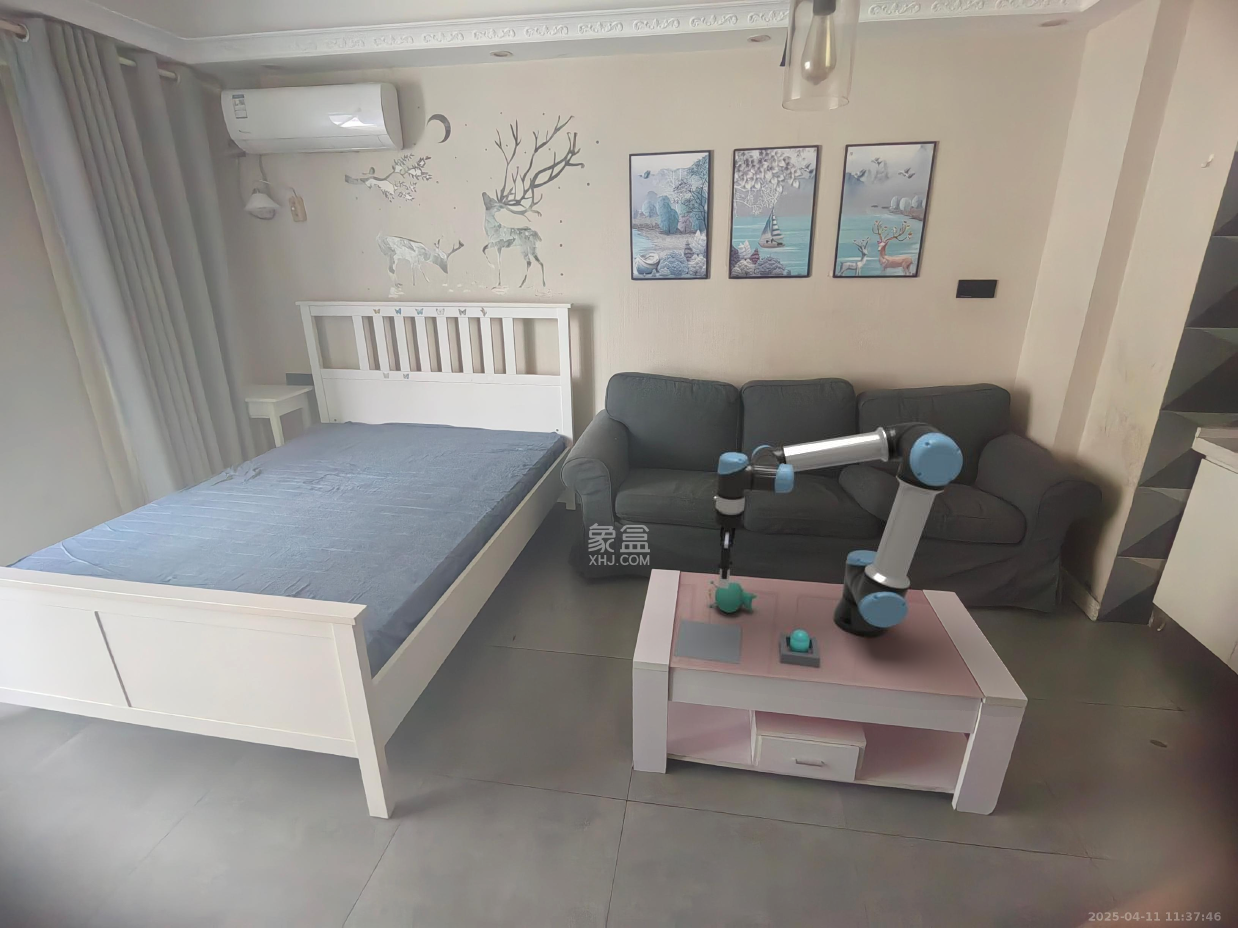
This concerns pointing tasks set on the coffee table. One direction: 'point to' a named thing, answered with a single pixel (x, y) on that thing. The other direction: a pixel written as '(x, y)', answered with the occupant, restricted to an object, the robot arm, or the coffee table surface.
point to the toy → (732, 597)
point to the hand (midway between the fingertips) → (723, 586)
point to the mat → (708, 641)
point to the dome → (799, 642)
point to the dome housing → (797, 657)
